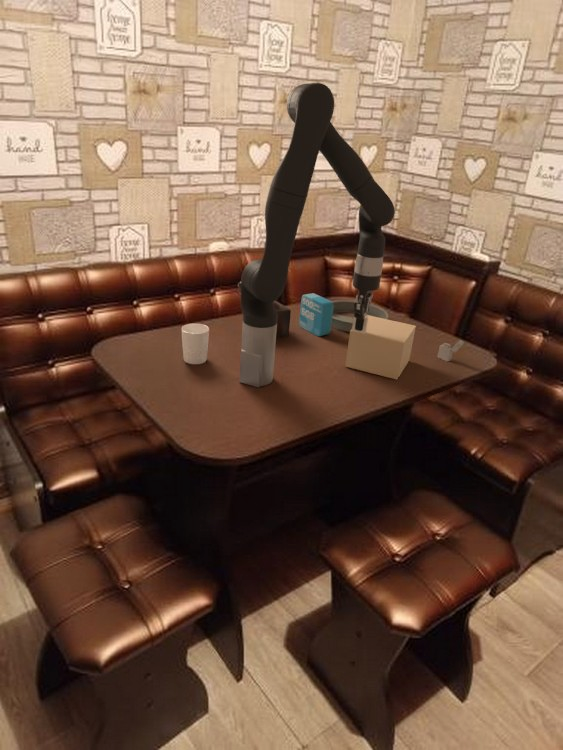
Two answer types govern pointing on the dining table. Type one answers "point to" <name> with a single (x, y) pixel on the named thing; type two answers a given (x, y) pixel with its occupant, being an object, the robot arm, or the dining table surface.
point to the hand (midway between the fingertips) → (359, 328)
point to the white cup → (195, 343)
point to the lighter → (448, 350)
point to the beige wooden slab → (373, 352)
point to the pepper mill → (280, 318)
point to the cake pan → (348, 306)
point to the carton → (393, 334)
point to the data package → (316, 314)
